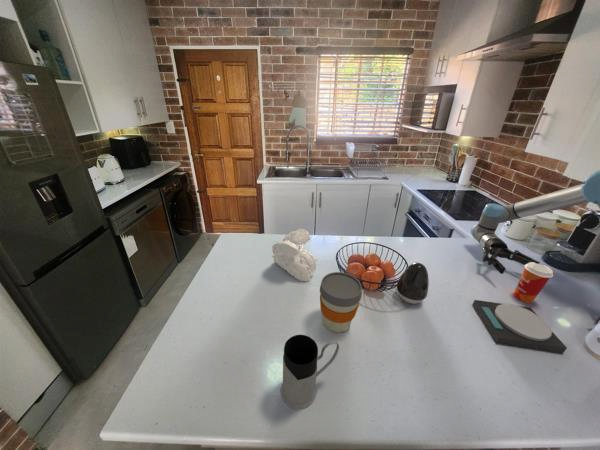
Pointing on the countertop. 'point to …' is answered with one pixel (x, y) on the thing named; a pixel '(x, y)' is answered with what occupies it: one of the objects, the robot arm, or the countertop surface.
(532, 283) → the paper cup
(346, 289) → the reusable coffee cup
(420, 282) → the dark egg shaped ornament
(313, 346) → the glass holder
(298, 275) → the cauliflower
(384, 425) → the countertop surface
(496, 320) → the scale
